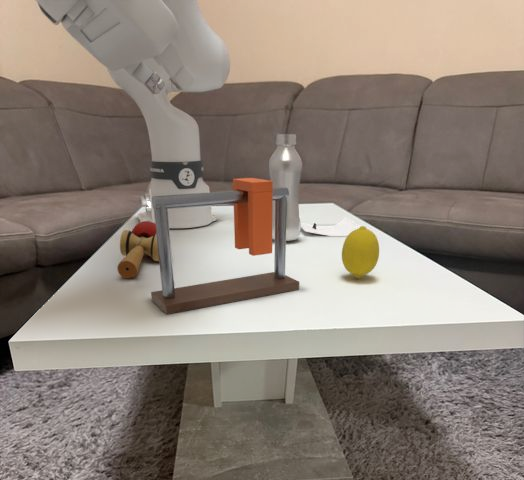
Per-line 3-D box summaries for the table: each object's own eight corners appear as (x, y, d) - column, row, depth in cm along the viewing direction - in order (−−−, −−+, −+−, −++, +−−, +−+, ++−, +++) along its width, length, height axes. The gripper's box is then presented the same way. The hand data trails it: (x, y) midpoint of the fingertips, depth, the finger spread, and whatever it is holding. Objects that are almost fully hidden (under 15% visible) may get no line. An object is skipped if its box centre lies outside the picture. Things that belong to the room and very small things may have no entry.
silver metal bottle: (298, 245, 91) (302, 134, 82) (265, 243, 92) (265, 134, 84) (302, 238, 97) (306, 134, 88) (270, 236, 98) (271, 133, 89)
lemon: (354, 285, 68) (359, 231, 64) (333, 276, 72) (336, 224, 68) (383, 280, 70) (390, 227, 66) (360, 271, 74) (365, 221, 71)
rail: (151, 300, 62) (139, 193, 56) (277, 278, 71) (279, 184, 65) (166, 314, 57) (155, 199, 51) (299, 289, 66) (303, 189, 60)
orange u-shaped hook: (234, 247, 64) (232, 178, 60) (253, 245, 66) (252, 177, 62) (253, 256, 60) (252, 182, 56) (272, 253, 62) (273, 181, 58)
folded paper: (295, 226, 109) (296, 217, 108) (345, 225, 110) (346, 216, 109) (305, 236, 98) (305, 227, 97) (360, 235, 99) (361, 226, 98)
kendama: (159, 286, 71) (176, 244, 86) (146, 248, 68) (166, 211, 83) (112, 294, 72) (136, 251, 87) (97, 257, 68) (125, 219, 83)
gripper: (116, -91, 37) (227, 57, 46) (73, -28, 53) (161, 74, 62) (68, -31, 37) (189, 106, 46) (40, 15, 53) (133, 110, 62)
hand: (173, 88), depth 54 cm, fingers open, 8 cm apart
